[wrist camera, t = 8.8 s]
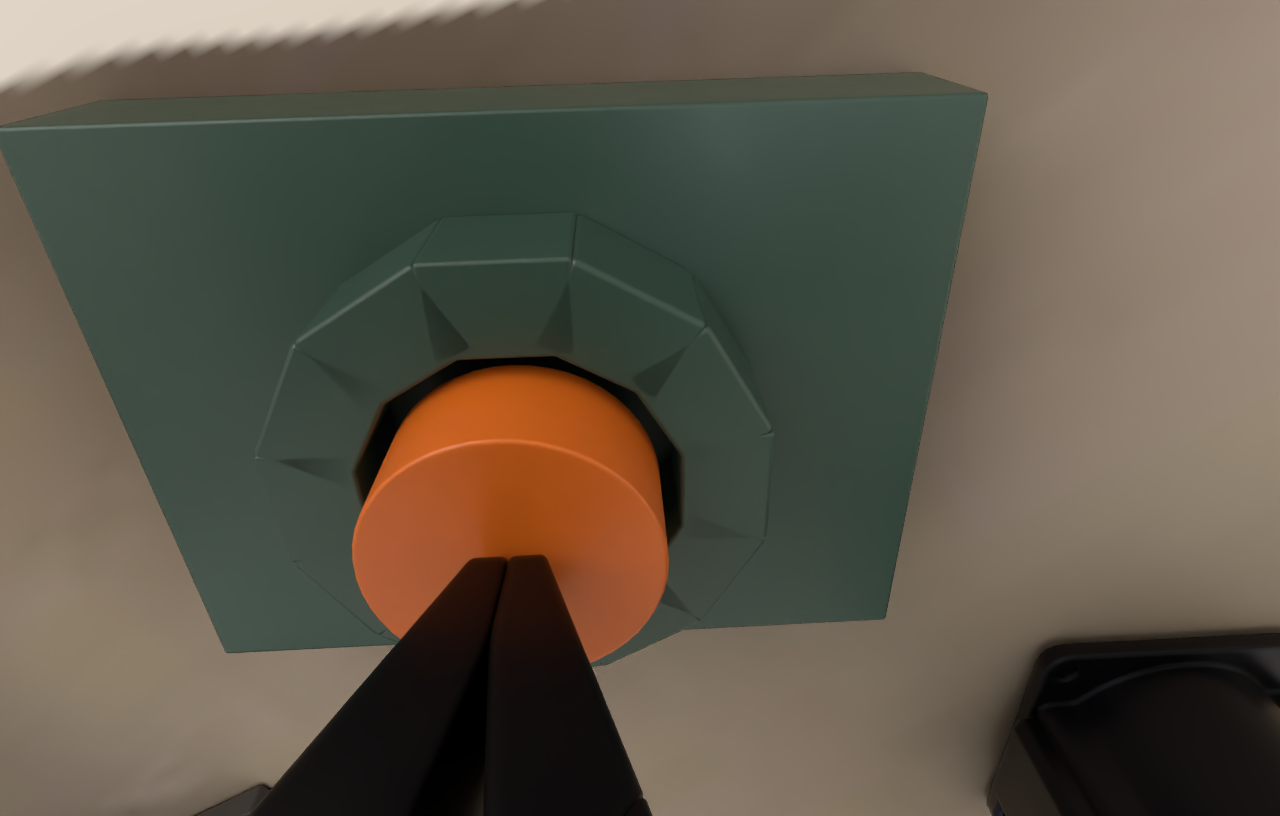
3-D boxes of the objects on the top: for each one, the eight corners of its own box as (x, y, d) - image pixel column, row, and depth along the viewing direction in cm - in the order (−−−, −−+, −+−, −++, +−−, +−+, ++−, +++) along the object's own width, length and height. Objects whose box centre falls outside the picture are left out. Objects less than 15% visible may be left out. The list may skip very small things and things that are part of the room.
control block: (923, 71, 11) (1071, 117, 7) (851, 541, 16) (922, 703, 12) (98, 100, 11) (-145, 161, 7) (271, 570, 15) (175, 744, 12)
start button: (657, 356, 9) (668, 433, 8) (660, 575, 11) (670, 670, 9) (363, 369, 9) (314, 448, 8) (415, 587, 11) (386, 686, 9)
